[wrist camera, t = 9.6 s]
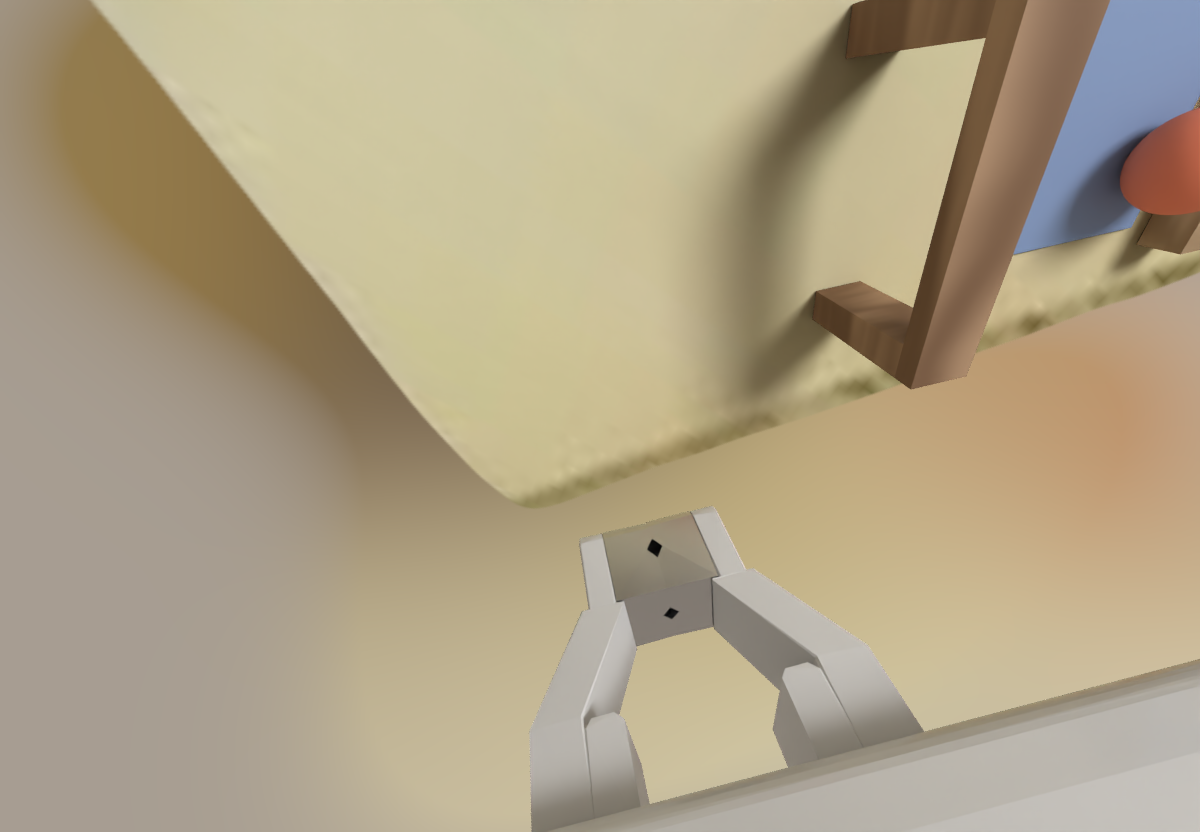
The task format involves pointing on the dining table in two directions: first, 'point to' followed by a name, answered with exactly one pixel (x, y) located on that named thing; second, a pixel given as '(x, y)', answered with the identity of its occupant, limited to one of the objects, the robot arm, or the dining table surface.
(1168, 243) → the wall
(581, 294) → the dining table surface
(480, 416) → the dining table surface
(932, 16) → the bridge
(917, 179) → the dining table surface
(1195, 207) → the ball
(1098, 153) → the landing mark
